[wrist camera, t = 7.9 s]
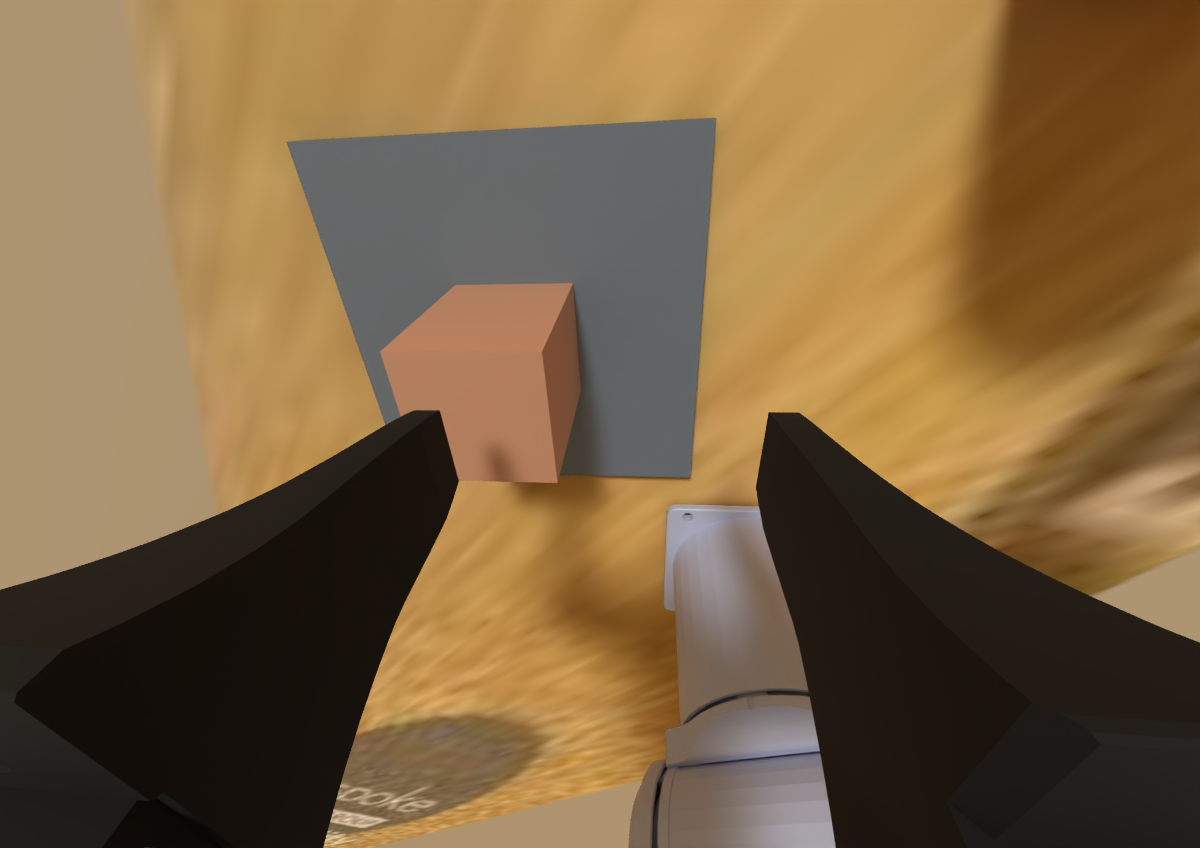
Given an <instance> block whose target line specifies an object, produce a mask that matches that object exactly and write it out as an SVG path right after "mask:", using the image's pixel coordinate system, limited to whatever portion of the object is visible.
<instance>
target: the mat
mask: <svg viewBox="0 0 1200 848" xmlns="http://www.w3.org/2000/svg"><path fill="white" fill-rule="evenodd" d="M715 127H716V118H705V119H687V120H669V121H651V122H633V123H614V124H596V125H578V126H560V127H542V128H524V129H505V130H487V131H469V132H451V133H433V134H415V135H396V136H378V137H360V138H342V139H324V140H305V141H291V142H287V144H288V147H289V150H290V153H291V156H292V159H293V161H294V164H295V167H296V170H297V173H298V176H299V179H300V181H301V184H302V187H303V190H304V193H305V196H306V199H307V201H308V204H309V207H310V210H311V213H312V216H313V219H314V221H315V224H316V227H317V230H318V233H319V236H320V239H321V241H322V244H323V247H324V250H325V253H326V256H327V259H328V261H329V264H330V267H331V270H332V273H333V276H334V279H335V281H336V284H337V287H338V290H339V293H340V296H341V299H342V301H343V304H344V307H345V310H346V313H347V316H348V319H349V321H350V324H351V327H352V330H353V333H354V336H355V339H356V341H357V344H358V347H359V350H360V353H361V356H362V359H363V361H364V364H365V367H366V370H367V373H368V376H369V379H370V381H371V384H372V387H373V390H374V393H375V396H376V399H377V401H378V404H379V407H380V410H381V413H382V416H383V419H384V421H385V424H386V425H387V424H388V423H390V422H392V421H394V420H395V419H397V418H399V417H401V416H400V413H399V410H398V406H397V403H396V400H395V397H394V394H393V391H392V388H391V385H390V381H389V378H388V375H387V372H386V369H385V366H384V363H383V360H382V356H381V353H380V351H381V350H383V349H384V348H385V347H386V346H387V345H388V344H389V343H390V342H392V341H393V340H394V339H395V338H396V337H397V336H398V335H400V334H401V333H402V332H403V331H404V330H405V329H406V328H407V327H409V326H410V325H411V324H412V323H413V322H414V321H415V320H416V319H418V318H419V317H420V316H421V315H422V314H423V313H424V312H425V311H427V310H428V309H429V308H430V307H431V306H432V305H433V304H435V303H436V302H437V301H438V300H439V299H440V298H441V297H442V296H444V295H445V294H446V293H447V292H448V291H449V290H450V289H451V288H453V287H454V286H455V285H492V284H556V283H573V288H574V302H575V315H576V329H577V343H578V356H579V370H580V384H581V392H580V396H579V400H578V404H577V408H576V412H575V416H574V420H573V424H572V428H571V432H570V436H569V440H568V443H567V447H566V451H565V455H564V459H563V463H562V467H561V471H560V475H590V476H640V477H689V478H690V477H691V463H692V449H693V435H694V421H695V407H696V393H697V379H698V365H699V351H700V337H701V323H702V309H703V295H704V281H705V267H706V253H707V239H708V225H709V211H710V197H711V183H712V169H713V155H714V141H715Z"/></svg>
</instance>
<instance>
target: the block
mask: <svg viewBox="0 0 1200 848" xmlns="http://www.w3.org/2000/svg"><path fill="white" fill-rule="evenodd" d="M380 353H381V356H382V360H383V363H384V366H385V369H386V372H387V375H388V378H389V381H390V385H391V388H392V391H393V394H394V397H395V400H396V403H397V406H398V410H399V413H400V416H403V415H405V414H407V413H409V412H411V411H413V410H440V413H441V416H442V420H443V424H444V428H445V431H446V435H447V439H448V442H449V446H450V450H451V453H452V457H453V461H454V465H455V468H456V472H457V476H458V479H459V480H466V481H504V482H542V483H558V479H559V475H560V471H561V467H562V463H563V459H564V455H565V451H566V447H567V443H568V440H569V436H570V432H571V428H572V424H573V420H574V416H575V412H576V408H577V404H578V400H579V396H580V392H581V384H580V370H579V356H578V343H577V329H576V315H575V302H574V288H573V283H556V284H492V285H455V286H454V287H453V288H451V289H450V290H449V291H448V292H447V293H446V294H445V295H444V296H442V297H441V298H440V299H439V300H438V301H437V302H436V303H435V304H433V305H432V306H431V307H430V308H429V309H428V310H427V311H425V312H424V313H423V314H422V315H421V316H420V317H419V318H418V319H416V320H415V321H414V322H413V323H412V324H411V325H410V326H409V327H407V328H406V329H405V330H404V331H403V332H402V333H401V334H400V335H398V336H397V337H396V338H395V339H394V340H393V341H392V342H390V343H389V344H388V345H387V346H386V347H385V348H384V349H383V350H381V351H380Z"/></svg>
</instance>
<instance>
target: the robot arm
mask: <svg viewBox="0 0 1200 848" xmlns="http://www.w3.org/2000/svg"><path fill="white" fill-rule="evenodd" d="M458 482H459V479H458V476H457V472H456V468H455V465H454V461H453V457H452V453H451V450H450V446H449V442H448V439H447V435H446V431H445V428H444V424H443V420H442V416H441V413H440V410H413V411H411V412H409V413H407V414H405V415H403V416H401V417H399V418H397V419H395V420H394V421H392V422H390V423H388V424H387V425H385V426H383V427H382V428H380V429H378V430H376V431H375V432H373V433H371V434H370V435H368V436H366V437H365V438H363V439H361V440H360V441H358V442H356V443H355V444H353V445H351V446H350V447H348V448H346V449H345V450H343V451H341V452H340V453H338V454H336V455H334V456H333V457H331V458H329V459H327V460H326V461H324V462H322V463H320V464H318V465H317V466H315V467H313V468H311V469H309V470H308V471H306V472H304V473H302V474H300V475H299V476H297V477H295V478H293V479H291V480H289V481H288V482H286V483H284V484H282V485H280V486H278V487H276V488H274V489H272V490H270V491H268V492H266V493H264V494H262V495H260V496H258V497H256V498H254V499H252V500H249V501H247V502H245V503H243V504H241V505H239V506H236V507H234V508H232V509H230V510H228V511H226V512H223V513H221V514H219V515H216V516H214V517H211V518H209V519H206V520H204V521H202V522H199V523H197V524H194V525H192V526H189V527H187V528H184V529H182V530H179V531H177V532H174V533H172V534H169V535H167V536H164V537H162V538H159V539H157V540H154V541H151V542H149V543H146V544H143V545H140V546H138V547H135V548H132V549H129V550H126V551H123V552H121V553H118V554H115V555H112V556H109V557H106V558H103V559H100V560H97V561H94V562H91V563H88V564H85V565H82V566H79V567H76V568H73V569H70V570H67V571H63V572H60V573H57V574H54V575H50V576H47V577H44V578H40V579H37V580H33V581H30V582H26V583H22V584H19V585H15V586H12V587H8V588H5V589H1V590H0V848H323V846H324V842H325V838H326V835H327V831H328V827H329V824H330V820H331V817H332V813H333V809H334V806H335V802H336V799H337V795H338V791H339V788H340V784H341V781H342V777H343V774H344V770H345V767H346V764H347V761H348V758H349V754H350V751H351V748H352V745H353V742H354V738H355V735H356V732H357V729H358V726H359V722H360V719H361V716H362V713H363V710H364V707H365V704H366V702H367V699H368V696H369V693H370V690H371V687H372V684H373V681H374V679H375V676H376V673H377V670H378V667H379V664H380V662H381V659H382V657H383V654H384V651H385V649H386V646H387V643H388V641H389V638H390V635H391V633H392V630H393V628H394V625H395V622H396V620H397V618H398V616H399V614H400V611H401V609H402V607H403V605H404V603H405V601H406V599H407V597H408V595H409V593H410V591H411V589H412V587H413V585H414V583H415V581H416V579H417V577H418V575H419V573H420V571H421V569H422V567H423V565H424V563H425V561H426V559H427V557H428V555H429V553H430V551H431V549H432V547H433V545H434V543H435V541H436V539H437V537H438V535H439V533H440V531H441V529H442V527H443V525H444V523H445V521H446V519H447V516H448V513H449V510H450V507H451V504H452V501H453V498H454V495H455V492H456V488H457V485H458ZM756 491H757V497H758V503H759V506H724V505H685V504H676V505H672V506H670V507H669V508H668V509H667V521H666V547H665V573H664V598H663V604H664V608H665V609H667V610H669V611H675V624H676V646H677V667H678V689H679V711H680V726H679V727H675V728H670V729H667V730H666V731H665V738H666V760H658V761H656V762H654V763H653V764H652V765H650V767H649V768H648V770H647V772H646V773H645V776H644V778H643V781H642V784H641V786H640V788H639V790H638V792H637V795H636V798H635V801H634V805H633V810H632V815H631V822H630V833H629V848H1200V643H1199V642H1197V641H1194V640H1191V639H1189V638H1186V637H1184V636H1181V635H1179V634H1176V633H1174V632H1171V631H1169V630H1166V629H1164V628H1161V627H1159V626H1157V625H1154V624H1152V623H1150V622H1147V621H1145V620H1142V619H1140V618H1138V617H1136V616H1134V615H1131V614H1129V613H1127V612H1125V611H1122V610H1120V609H1118V608H1116V607H1113V606H1111V605H1109V604H1106V603H1104V602H1102V601H1100V600H1097V599H1095V598H1093V597H1091V596H1089V595H1086V594H1084V593H1082V592H1080V591H1078V590H1076V589H1074V588H1072V587H1070V586H1067V585H1065V584H1063V583H1061V582H1059V581H1057V580H1055V579H1053V578H1051V577H1049V576H1047V575H1045V574H1043V573H1041V572H1039V571H1037V570H1035V569H1033V568H1031V567H1029V566H1027V565H1025V564H1023V563H1021V562H1019V561H1017V560H1015V559H1013V558H1011V557H1010V556H1008V555H1006V554H1004V553H1002V552H1000V551H998V550H996V549H994V548H993V547H991V546H989V545H987V544H985V543H983V542H982V541H980V540H978V539H976V538H974V537H973V536H971V535H969V534H968V533H966V532H964V531H963V530H961V529H959V528H958V527H956V526H954V525H953V524H951V523H949V522H948V521H946V520H944V519H943V518H941V517H939V516H938V515H936V514H934V513H933V512H931V511H930V510H928V509H927V508H925V507H923V506H922V505H920V504H919V503H917V502H916V501H914V500H913V499H911V498H910V497H909V496H907V495H906V494H904V493H903V492H901V491H900V490H899V489H897V488H896V487H894V486H893V485H891V484H890V483H888V482H887V481H886V480H884V479H883V478H882V477H880V476H879V475H878V474H876V473H875V472H873V471H872V470H871V469H870V468H868V467H867V466H866V465H864V464H863V463H862V462H860V461H859V460H858V459H857V458H855V457H854V456H853V455H851V454H850V453H849V452H848V451H846V450H845V449H844V448H843V447H841V446H840V445H839V444H838V443H837V442H835V441H834V440H833V439H832V438H830V437H829V436H828V435H827V434H826V433H824V432H823V431H822V430H821V429H819V428H818V427H817V426H816V425H814V424H813V423H812V422H811V421H809V420H808V419H807V418H806V417H804V416H803V415H801V414H800V413H775V412H769V414H768V420H767V426H766V431H765V437H764V443H763V449H762V455H761V461H760V467H759V472H758V478H757V484H756ZM685 513H690V515H684V514H685Z"/></svg>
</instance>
